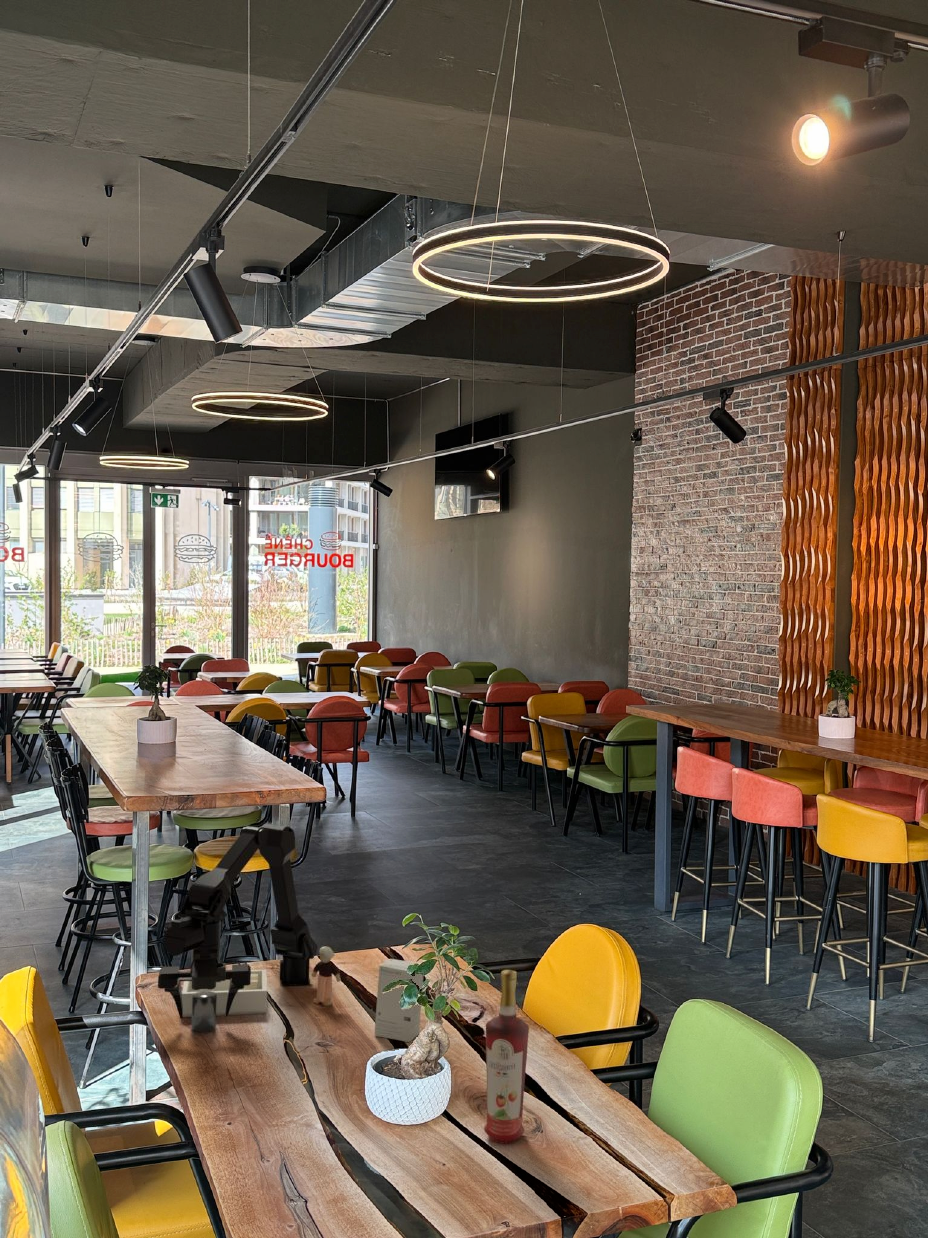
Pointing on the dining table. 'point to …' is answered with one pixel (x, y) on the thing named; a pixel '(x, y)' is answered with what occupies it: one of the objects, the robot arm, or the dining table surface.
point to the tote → (241, 1003)
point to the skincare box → (396, 1003)
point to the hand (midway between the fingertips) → (204, 1017)
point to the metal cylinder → (204, 1012)
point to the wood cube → (252, 983)
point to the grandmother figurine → (325, 976)
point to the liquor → (506, 1066)
